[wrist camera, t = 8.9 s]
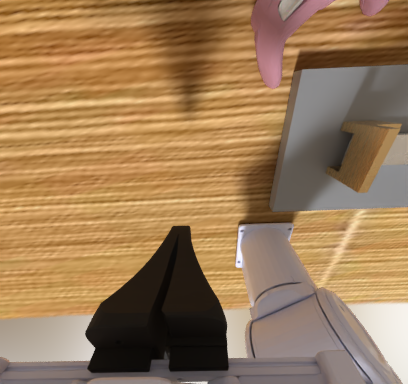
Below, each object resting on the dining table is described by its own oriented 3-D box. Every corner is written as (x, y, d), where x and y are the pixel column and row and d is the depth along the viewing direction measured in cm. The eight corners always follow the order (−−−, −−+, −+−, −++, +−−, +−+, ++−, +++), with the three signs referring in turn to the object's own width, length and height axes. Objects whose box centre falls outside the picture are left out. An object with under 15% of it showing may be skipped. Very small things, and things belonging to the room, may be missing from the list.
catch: (352, 172, 18) (392, 191, 15) (325, 173, 19) (358, 192, 15) (374, 120, 16) (431, 127, 12) (343, 121, 16) (389, 128, 12)
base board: (430, 199, 22) (464, 214, 19) (268, 205, 23) (278, 220, 20) (537, 60, 15) (616, 50, 12) (293, 72, 15) (315, 65, 12)
